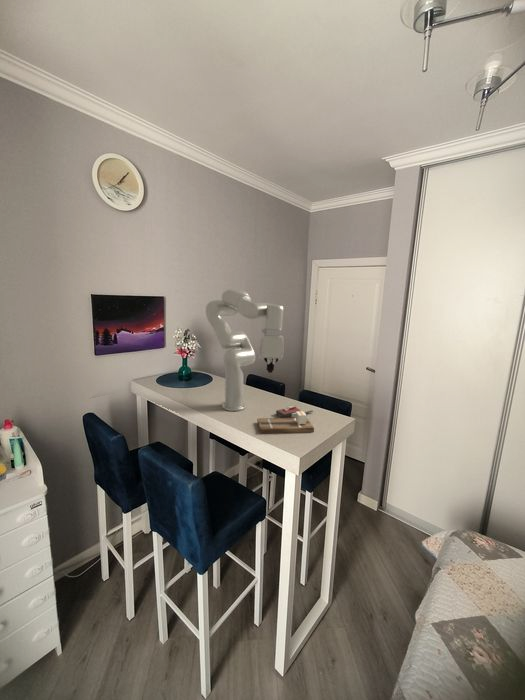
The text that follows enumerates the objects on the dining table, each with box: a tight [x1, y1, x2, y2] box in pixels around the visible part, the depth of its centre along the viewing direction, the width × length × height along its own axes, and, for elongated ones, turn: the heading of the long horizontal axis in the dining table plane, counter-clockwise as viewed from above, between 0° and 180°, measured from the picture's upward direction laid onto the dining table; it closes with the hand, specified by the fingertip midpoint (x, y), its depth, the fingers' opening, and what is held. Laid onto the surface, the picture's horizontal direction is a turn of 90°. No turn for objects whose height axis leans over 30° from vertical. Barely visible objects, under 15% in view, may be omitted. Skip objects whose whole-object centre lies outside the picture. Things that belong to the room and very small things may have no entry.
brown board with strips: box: [256, 417, 315, 435], centre depth 142 cm, size 12×24×2 cm, turn 98°
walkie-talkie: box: [275, 405, 314, 418], centre depth 158 cm, size 9×4×20 cm
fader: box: [296, 410, 308, 424], centre depth 142 cm, size 5×4×4 cm
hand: (269, 371), depth 141 cm, fingers closed
